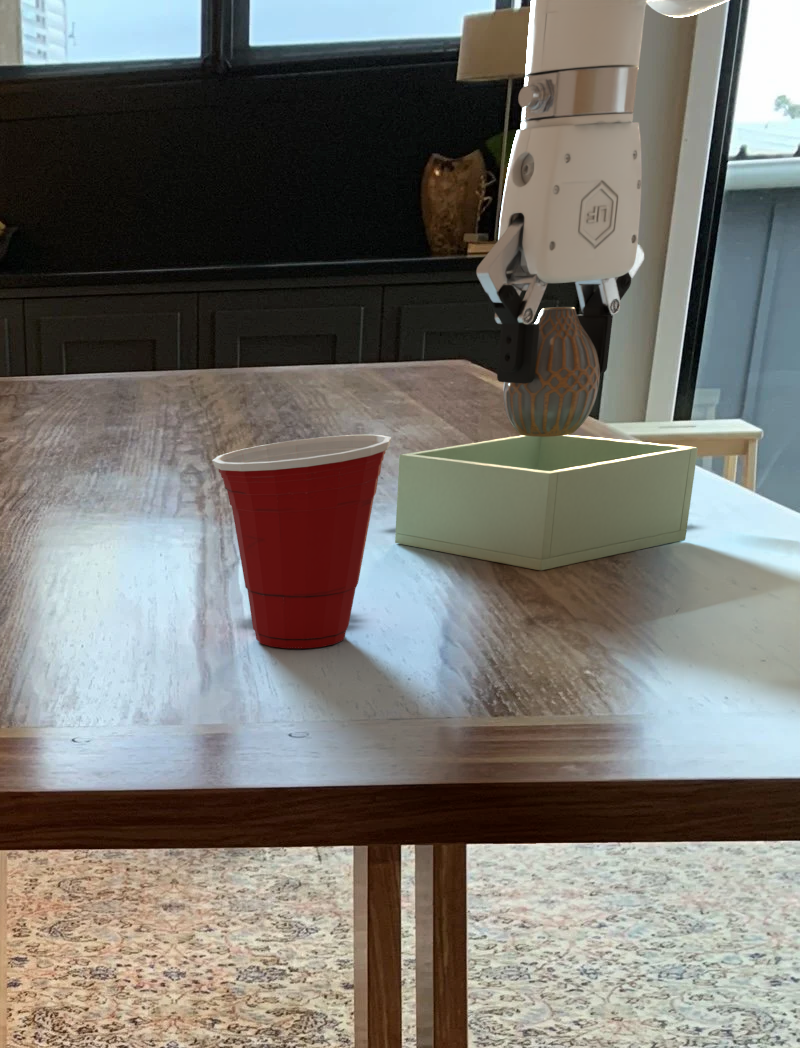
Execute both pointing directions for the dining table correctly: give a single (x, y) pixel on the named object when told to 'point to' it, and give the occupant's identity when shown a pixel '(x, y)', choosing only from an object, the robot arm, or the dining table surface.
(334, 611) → the plastic cup
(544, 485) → the tub
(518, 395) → the vase
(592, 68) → the robot arm
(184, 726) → the dining table surface
